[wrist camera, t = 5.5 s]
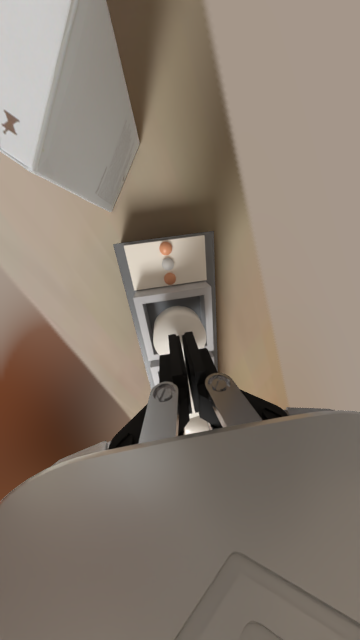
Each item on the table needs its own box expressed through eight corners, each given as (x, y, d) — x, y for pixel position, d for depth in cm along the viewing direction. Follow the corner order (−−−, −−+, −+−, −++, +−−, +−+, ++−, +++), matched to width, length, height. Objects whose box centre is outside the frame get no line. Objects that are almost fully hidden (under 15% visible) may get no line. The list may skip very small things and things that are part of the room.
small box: (141, 144, 14) (102, -71, 4) (112, 214, 15) (35, 177, 6) (26, 49, 11) (-769, -1089, 2) (7, 145, 13) (-428, -117, 3)
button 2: (149, 309, 14) (148, 320, 12) (199, 302, 14) (204, 312, 12) (158, 350, 16) (158, 365, 14) (202, 343, 16) (207, 357, 14)
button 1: (172, 409, 21) (173, 425, 20) (204, 403, 22) (208, 418, 20) (176, 429, 23) (177, 445, 21) (205, 423, 23) (209, 439, 22)
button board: (120, 243, 16) (106, 245, 12) (204, 232, 17) (221, 230, 12) (162, 413, 27) (162, 448, 22) (213, 403, 27) (223, 436, 23)
